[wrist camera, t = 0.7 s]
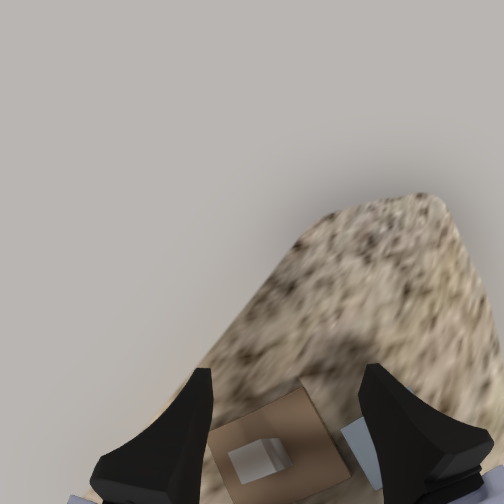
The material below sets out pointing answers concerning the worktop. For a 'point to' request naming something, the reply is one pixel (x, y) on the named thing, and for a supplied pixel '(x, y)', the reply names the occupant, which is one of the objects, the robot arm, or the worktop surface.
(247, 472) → the brown base with post
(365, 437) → the blue-grey block
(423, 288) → the worktop surface
